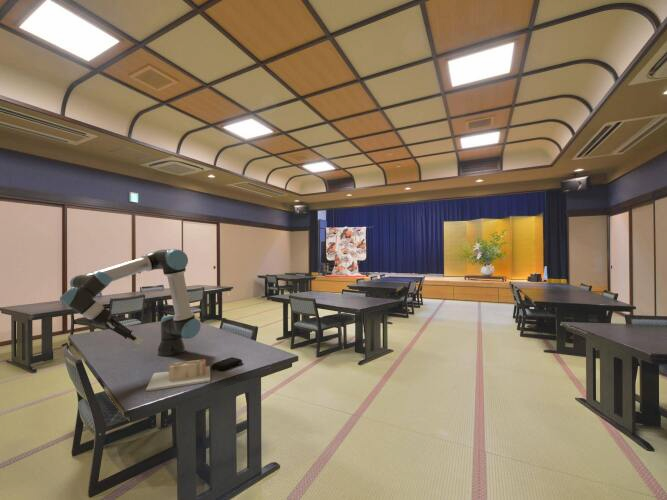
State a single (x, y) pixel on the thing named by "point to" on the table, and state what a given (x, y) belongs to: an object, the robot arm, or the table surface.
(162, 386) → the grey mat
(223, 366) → the carrying case or bag
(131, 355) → the table surface
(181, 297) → the robot arm
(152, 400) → the table surface
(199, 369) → the birch block
